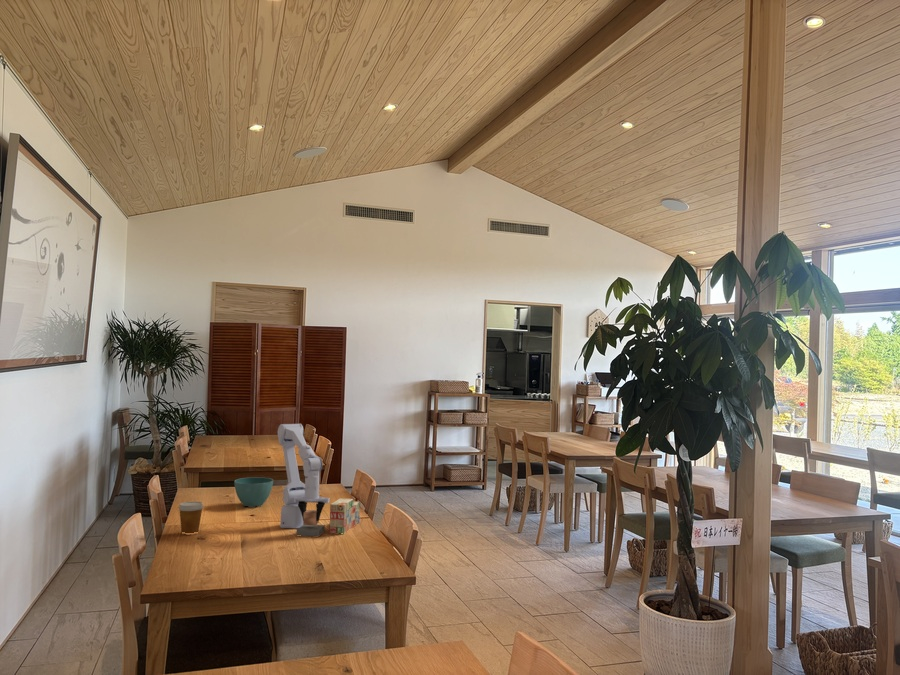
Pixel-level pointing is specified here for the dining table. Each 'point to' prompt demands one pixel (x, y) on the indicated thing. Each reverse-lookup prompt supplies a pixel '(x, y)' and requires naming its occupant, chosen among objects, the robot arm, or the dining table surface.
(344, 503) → the stack of blocks
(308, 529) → the charcoal slab
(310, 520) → the terracotta cube
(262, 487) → the teal bowl
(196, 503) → the disposable coffee cup
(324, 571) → the dining table surface
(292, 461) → the robot arm
